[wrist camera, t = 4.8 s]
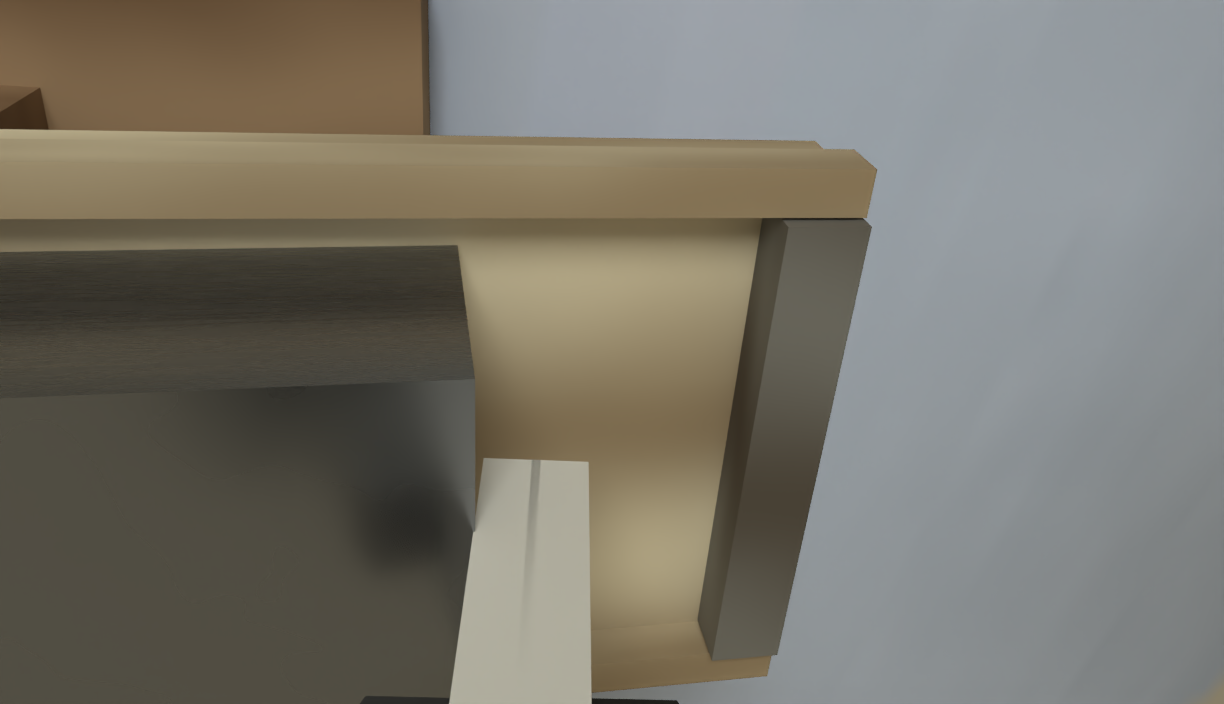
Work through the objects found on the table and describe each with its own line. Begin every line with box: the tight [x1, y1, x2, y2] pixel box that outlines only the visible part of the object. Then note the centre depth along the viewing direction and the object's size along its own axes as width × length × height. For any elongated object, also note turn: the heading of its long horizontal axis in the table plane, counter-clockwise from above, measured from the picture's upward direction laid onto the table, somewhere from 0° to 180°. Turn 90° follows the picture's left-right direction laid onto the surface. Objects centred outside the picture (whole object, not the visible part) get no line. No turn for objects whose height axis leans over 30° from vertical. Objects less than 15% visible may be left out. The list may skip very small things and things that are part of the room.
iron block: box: [0, 245, 475, 704], centre depth 13 cm, size 7×10×4 cm
